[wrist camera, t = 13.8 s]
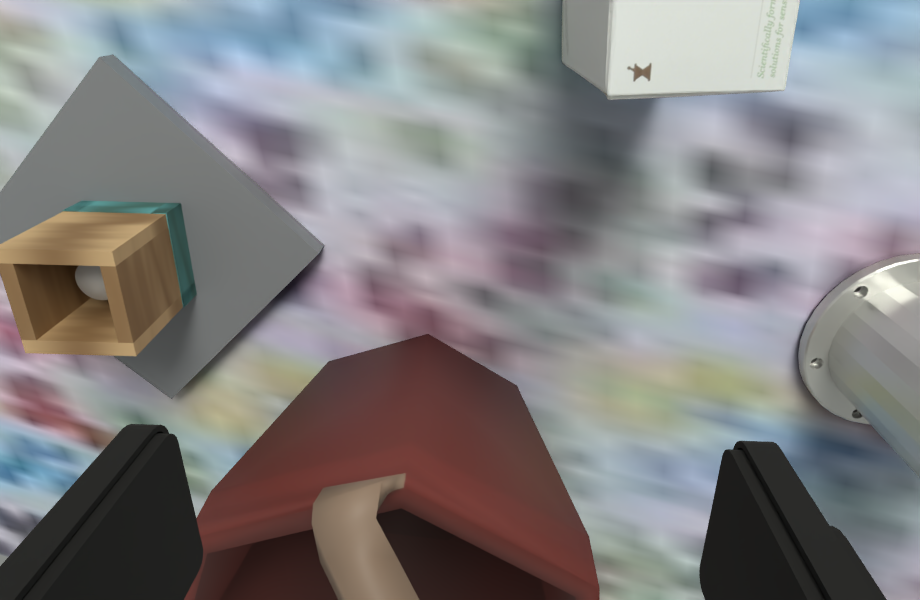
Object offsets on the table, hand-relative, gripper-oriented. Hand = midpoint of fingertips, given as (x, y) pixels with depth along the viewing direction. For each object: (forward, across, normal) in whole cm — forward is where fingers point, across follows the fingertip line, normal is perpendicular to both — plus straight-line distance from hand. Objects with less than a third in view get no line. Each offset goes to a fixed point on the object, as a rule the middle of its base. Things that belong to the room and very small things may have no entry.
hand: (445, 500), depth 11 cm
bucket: (+31, +4, +21) cm, 38 cm away
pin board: (+30, +22, +6) cm, 37 cm away
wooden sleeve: (+28, +22, +6) cm, 36 cm away
